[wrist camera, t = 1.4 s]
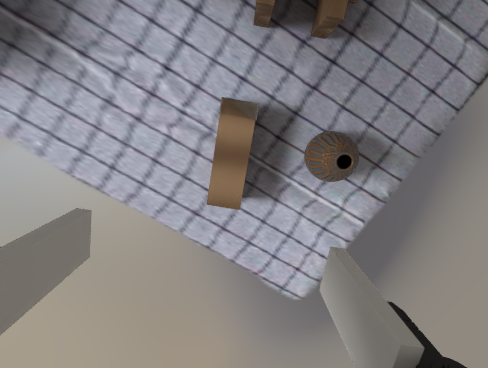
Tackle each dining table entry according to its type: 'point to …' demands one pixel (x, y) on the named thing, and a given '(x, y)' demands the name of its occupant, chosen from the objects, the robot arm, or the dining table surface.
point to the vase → (331, 156)
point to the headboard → (325, 20)
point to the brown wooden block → (231, 152)
